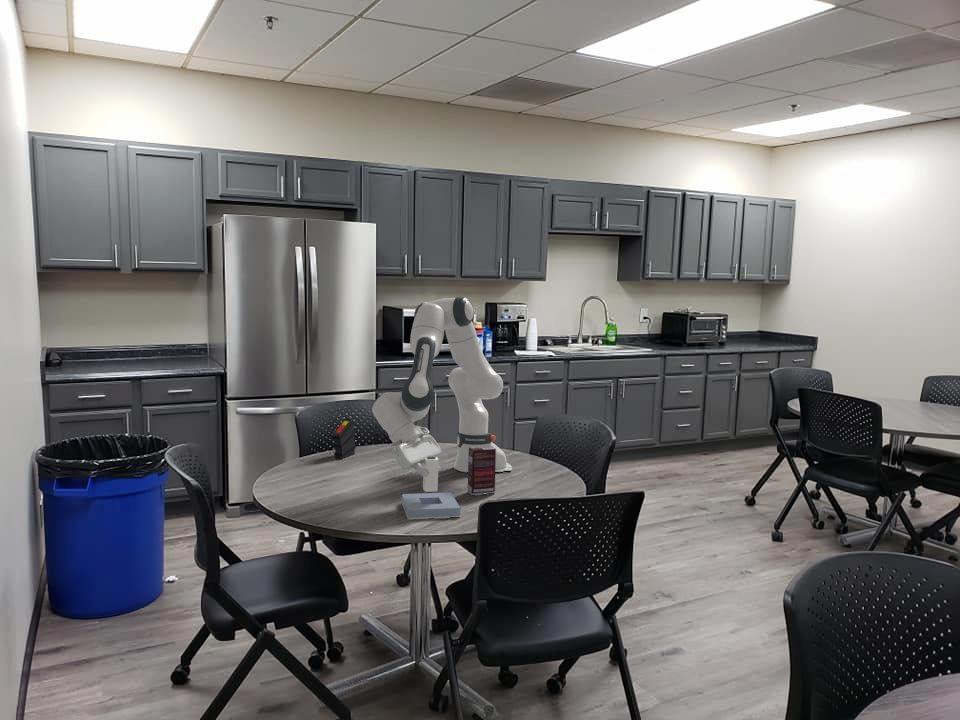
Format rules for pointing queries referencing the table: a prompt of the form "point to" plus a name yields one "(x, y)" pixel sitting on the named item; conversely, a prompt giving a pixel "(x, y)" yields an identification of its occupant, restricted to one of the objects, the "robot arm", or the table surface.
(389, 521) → the table surface
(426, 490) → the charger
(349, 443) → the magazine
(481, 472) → the supplement box
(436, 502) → the blue-gray square socket base
